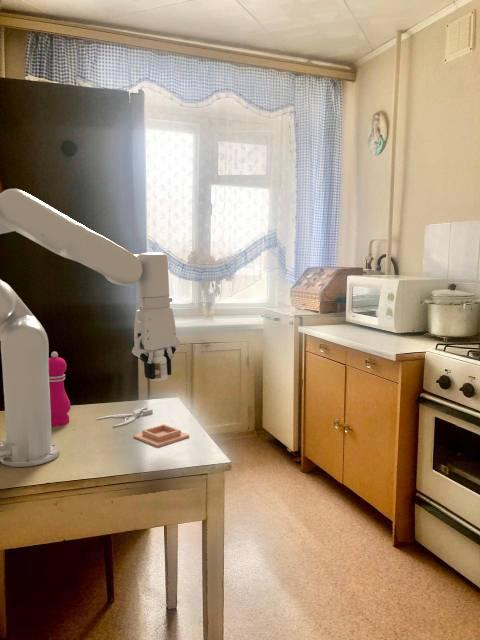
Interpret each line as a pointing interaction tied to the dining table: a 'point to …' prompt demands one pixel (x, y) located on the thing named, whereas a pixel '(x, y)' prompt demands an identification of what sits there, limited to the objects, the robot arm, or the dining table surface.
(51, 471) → the dining table surface
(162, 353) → the pill bottle
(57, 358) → the pepper mill
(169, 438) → the rest
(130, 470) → the dining table surface
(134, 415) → the pliers
